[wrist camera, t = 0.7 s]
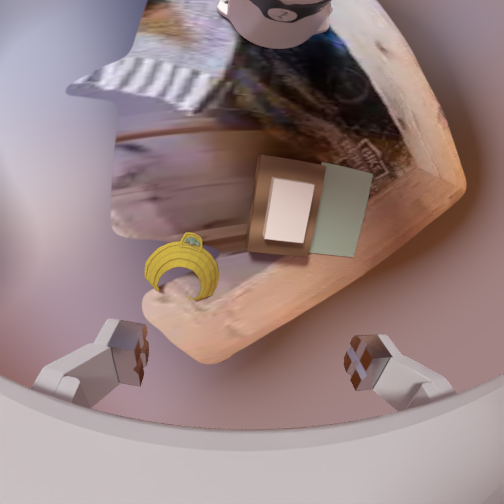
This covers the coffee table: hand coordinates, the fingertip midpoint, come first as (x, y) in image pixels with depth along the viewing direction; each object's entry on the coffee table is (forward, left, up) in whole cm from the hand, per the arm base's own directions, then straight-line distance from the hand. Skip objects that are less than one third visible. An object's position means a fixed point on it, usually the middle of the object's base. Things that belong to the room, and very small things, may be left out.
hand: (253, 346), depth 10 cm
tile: (+1, +8, -32) cm, 33 cm away
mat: (+1, +19, -36) cm, 41 cm away
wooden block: (+1, +8, -36) cm, 37 cm away
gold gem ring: (+14, -7, -37) cm, 40 cm away
